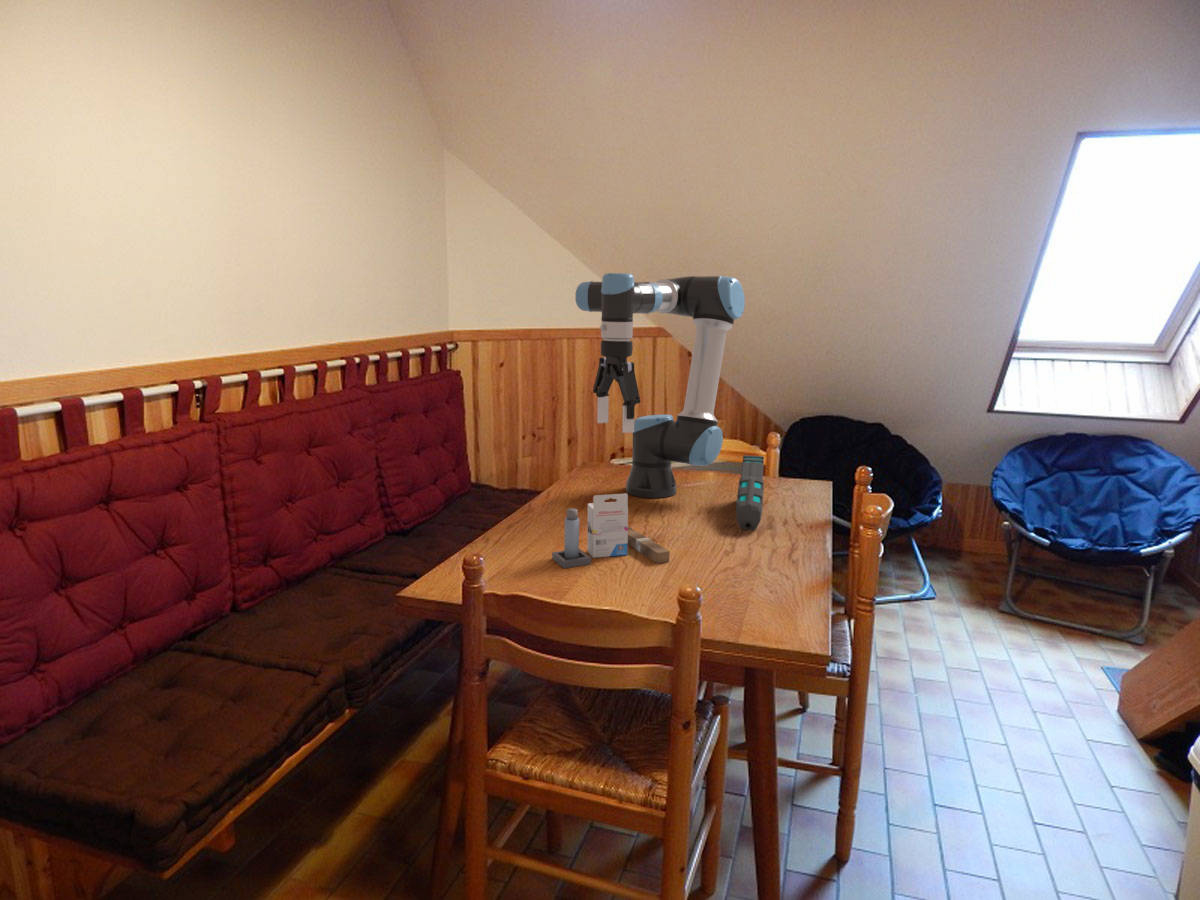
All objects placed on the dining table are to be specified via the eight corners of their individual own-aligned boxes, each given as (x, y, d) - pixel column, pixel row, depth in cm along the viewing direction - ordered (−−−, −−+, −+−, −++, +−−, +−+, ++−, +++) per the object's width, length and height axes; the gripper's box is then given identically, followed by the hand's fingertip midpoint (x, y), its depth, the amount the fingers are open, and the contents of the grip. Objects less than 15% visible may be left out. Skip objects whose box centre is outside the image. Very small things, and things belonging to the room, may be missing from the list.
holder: (552, 558, 173) (552, 552, 173) (578, 554, 176) (578, 548, 176) (563, 568, 168) (563, 561, 167) (591, 564, 170) (591, 557, 170)
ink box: (621, 548, 181) (622, 487, 178) (627, 555, 176) (629, 493, 173) (586, 551, 179) (587, 489, 176) (592, 558, 174) (592, 495, 171)
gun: (763, 494, 224) (765, 450, 217) (759, 556, 199) (762, 508, 192) (740, 493, 225) (742, 448, 218) (734, 554, 201) (735, 506, 193)
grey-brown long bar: (609, 532, 192) (609, 522, 192) (620, 531, 194) (620, 521, 193) (657, 563, 171) (657, 552, 171) (669, 561, 173) (669, 550, 172)
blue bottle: (562, 560, 173) (562, 508, 170) (575, 558, 174) (575, 507, 171) (567, 564, 170) (568, 512, 167) (580, 562, 171) (581, 511, 169)
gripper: (580, 336, 192) (579, 420, 197) (627, 343, 170) (625, 437, 175) (607, 335, 195) (606, 418, 200) (656, 343, 173) (653, 435, 178)
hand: (615, 427), depth 187 cm, fingers open, 13 cm apart
